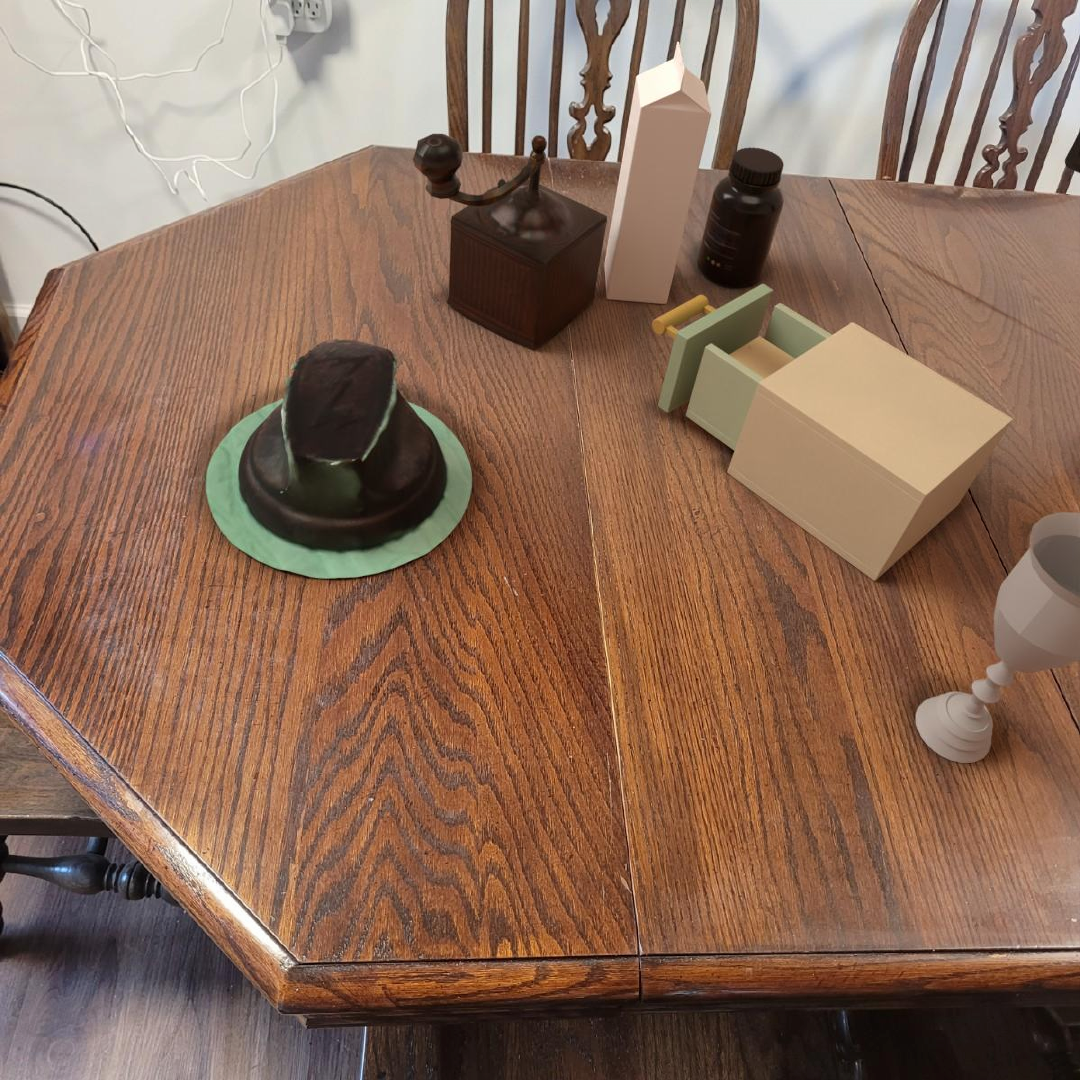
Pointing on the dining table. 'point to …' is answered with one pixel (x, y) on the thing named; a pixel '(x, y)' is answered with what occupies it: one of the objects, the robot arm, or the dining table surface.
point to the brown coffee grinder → (515, 247)
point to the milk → (656, 181)
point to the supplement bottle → (742, 219)
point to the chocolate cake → (339, 470)
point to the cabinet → (864, 446)
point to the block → (762, 357)
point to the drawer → (725, 357)
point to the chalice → (1016, 638)
